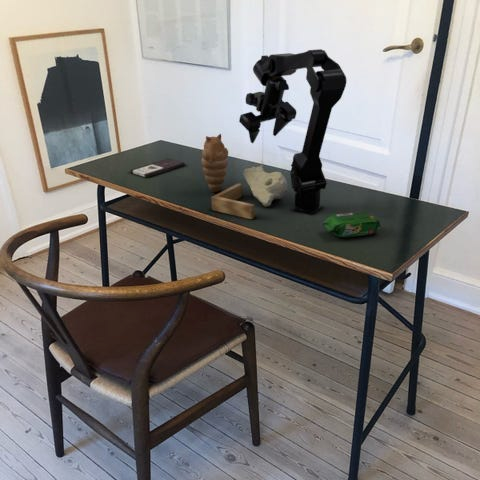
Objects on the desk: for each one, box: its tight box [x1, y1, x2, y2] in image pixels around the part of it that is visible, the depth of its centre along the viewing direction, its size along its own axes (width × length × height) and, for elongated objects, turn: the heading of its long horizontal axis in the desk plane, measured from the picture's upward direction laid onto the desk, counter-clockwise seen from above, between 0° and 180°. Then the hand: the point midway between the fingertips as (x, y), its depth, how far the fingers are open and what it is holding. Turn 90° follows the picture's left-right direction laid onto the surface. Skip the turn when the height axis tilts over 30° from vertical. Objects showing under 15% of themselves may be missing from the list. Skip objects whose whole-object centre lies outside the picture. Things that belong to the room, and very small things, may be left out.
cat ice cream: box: [200, 133, 229, 193], centre depth 165 cm, size 9×8×18 cm
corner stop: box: [210, 182, 255, 220], centre depth 157 cm, size 14×14×4 cm
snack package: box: [322, 211, 381, 238], centre depth 139 cm, size 7×16×5 cm, turn 103°
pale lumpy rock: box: [242, 165, 289, 208], centre depth 162 cm, size 15×7×15 cm
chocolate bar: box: [129, 157, 186, 178], centre depth 190 cm, size 9×1×18 cm
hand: (263, 138), depth 171 cm, fingers open, 9 cm apart
